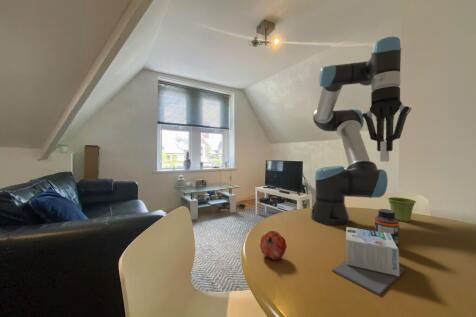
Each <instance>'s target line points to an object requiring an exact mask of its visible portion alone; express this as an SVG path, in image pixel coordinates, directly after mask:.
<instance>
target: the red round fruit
mask: <svg viewBox="0 0 476 317" xmlns="http://www.w3.org/2000/svg"><path fill="white" fill-rule="evenodd" d="M259 248H260V250H261V253H262V254H263V256H265V257H267V258H269V259H272V260H274V261H275V260H276V261H278V260H280V259H282V258H283V257H284V255H285V252H286V249H287V242H286V239H285V237H284V236H282V235H281V234H280V233H279V232H278V231H274V230H270V231H268V232H266V233H265V234H263V235H262V236H261V238H260V244H259Z"/></svg>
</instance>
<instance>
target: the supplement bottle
mask: <svg viewBox="0 0 476 317" xmlns="http://www.w3.org/2000/svg"><path fill="white" fill-rule="evenodd" d="M394 216H395V212H394V211H392V210H391V209H388V208H379V209H378V214H377V215H376V216H375V217H374V231H377V232H385V233H390V234H391V236H392V238H393V240H394V242H395V244H396V246H397V248H398V249H399V246H400V243H399V242H400V237H399V236H400V235H399V234H400V222H399V221H400V220H398V219H396V218H395V217H394Z"/></svg>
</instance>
